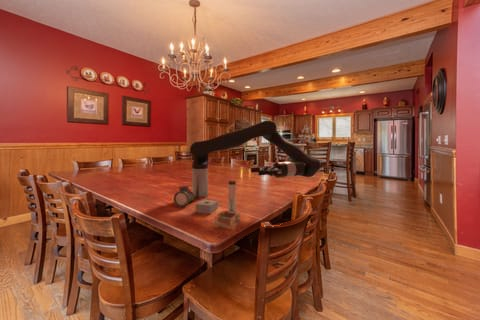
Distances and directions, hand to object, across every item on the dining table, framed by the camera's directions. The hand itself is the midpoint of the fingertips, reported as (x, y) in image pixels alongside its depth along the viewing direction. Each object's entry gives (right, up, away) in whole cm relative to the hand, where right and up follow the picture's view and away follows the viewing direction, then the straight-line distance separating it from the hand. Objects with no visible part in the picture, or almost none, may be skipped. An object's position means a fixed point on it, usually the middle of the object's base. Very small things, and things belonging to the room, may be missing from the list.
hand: (254, 171), depth 100 cm
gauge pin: (-11, -20, -2) cm, 23 cm away
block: (-23, -19, +4) cm, 31 cm away
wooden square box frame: (-12, -21, -12) cm, 27 cm away
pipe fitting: (-36, -19, +15) cm, 44 cm away
